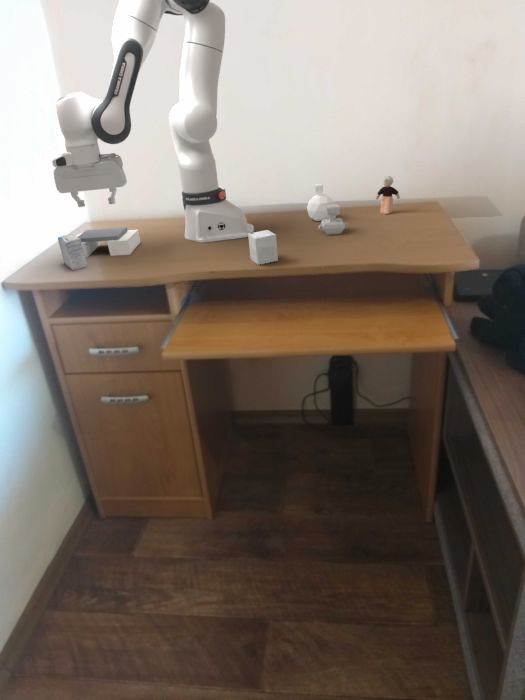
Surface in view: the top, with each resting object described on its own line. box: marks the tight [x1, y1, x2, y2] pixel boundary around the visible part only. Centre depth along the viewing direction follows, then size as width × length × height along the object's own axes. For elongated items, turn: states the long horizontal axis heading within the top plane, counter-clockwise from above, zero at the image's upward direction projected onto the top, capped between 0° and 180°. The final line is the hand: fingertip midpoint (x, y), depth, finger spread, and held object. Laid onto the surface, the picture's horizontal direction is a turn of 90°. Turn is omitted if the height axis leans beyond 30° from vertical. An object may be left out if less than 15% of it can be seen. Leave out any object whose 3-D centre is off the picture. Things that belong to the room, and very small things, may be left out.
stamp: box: [317, 203, 348, 236], centre depth 159 cm, size 9×7×8 cm
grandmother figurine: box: [375, 175, 401, 215], centre depth 172 cm, size 8×4×13 cm, turn 81°
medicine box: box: [57, 233, 88, 271], centre depth 150 cm, size 8×4×9 cm, turn 35°
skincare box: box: [247, 229, 279, 266], centre depth 141 cm, size 6×6×7 cm
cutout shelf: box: [75, 226, 141, 258], centre depth 161 cm, size 19×12×6 cm, turn 87°
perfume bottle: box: [306, 183, 334, 222], centre depth 171 cm, size 9×9×12 cm
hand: (97, 205), depth 156 cm, fingers open, 8 cm apart
